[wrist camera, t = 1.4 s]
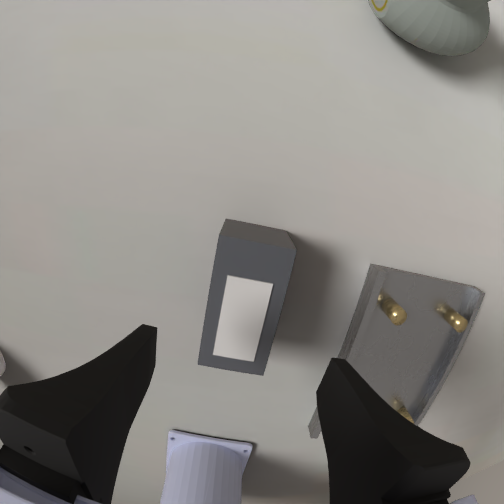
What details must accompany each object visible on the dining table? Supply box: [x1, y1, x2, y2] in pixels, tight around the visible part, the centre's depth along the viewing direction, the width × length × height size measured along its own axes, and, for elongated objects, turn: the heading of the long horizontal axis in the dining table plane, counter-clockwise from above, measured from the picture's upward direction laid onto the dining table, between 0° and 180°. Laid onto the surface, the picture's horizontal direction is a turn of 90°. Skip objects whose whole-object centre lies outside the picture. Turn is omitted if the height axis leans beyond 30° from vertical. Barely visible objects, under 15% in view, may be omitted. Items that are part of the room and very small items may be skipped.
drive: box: [198, 219, 297, 376], centre depth 19 cm, size 8×4×5 cm, turn 168°
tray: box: [308, 264, 485, 438], centre depth 23 cm, size 16×11×3 cm
